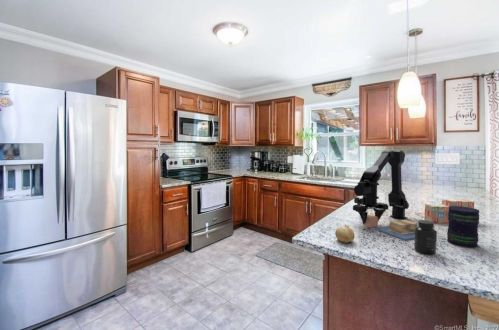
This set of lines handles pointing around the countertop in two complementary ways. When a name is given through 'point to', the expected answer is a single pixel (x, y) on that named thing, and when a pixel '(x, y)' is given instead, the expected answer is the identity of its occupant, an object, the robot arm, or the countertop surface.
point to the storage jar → (463, 226)
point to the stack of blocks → (444, 209)
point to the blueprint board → (401, 236)
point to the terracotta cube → (371, 221)
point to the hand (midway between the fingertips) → (370, 223)
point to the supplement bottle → (425, 238)
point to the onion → (345, 234)
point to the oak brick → (402, 226)
